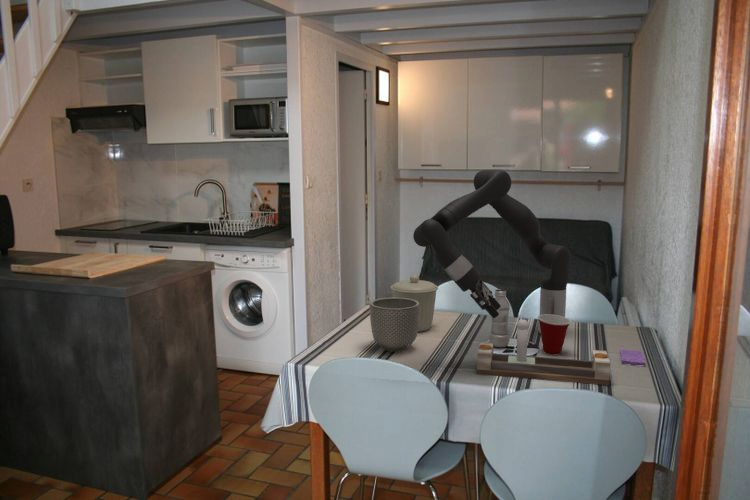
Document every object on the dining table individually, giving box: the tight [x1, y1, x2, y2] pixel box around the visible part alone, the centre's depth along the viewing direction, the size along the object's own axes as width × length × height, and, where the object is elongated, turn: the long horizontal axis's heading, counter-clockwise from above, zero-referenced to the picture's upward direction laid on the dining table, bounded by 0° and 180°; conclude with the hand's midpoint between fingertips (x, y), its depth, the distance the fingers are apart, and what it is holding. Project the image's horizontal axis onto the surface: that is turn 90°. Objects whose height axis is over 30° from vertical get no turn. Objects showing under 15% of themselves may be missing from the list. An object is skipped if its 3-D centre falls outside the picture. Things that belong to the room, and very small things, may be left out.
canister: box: [390, 274, 439, 333], centre depth 235 cm, size 18×18×21 cm
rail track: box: [476, 341, 611, 386], centre depth 188 cm, size 12×38×7 cm, turn 75°
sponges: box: [619, 349, 646, 367], centre depth 201 cm, size 7×13×2 cm, turn 160°
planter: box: [369, 296, 420, 352], centre depth 212 cm, size 17×17×16 cm
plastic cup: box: [537, 314, 572, 356], centre depth 207 cm, size 11×11×12 cm
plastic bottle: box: [489, 288, 511, 348], centre depth 213 cm, size 6×7×20 cm
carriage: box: [508, 318, 535, 365], centre depth 189 cm, size 6×8×15 cm
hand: (497, 312), depth 190 cm, fingers open, 8 cm apart
